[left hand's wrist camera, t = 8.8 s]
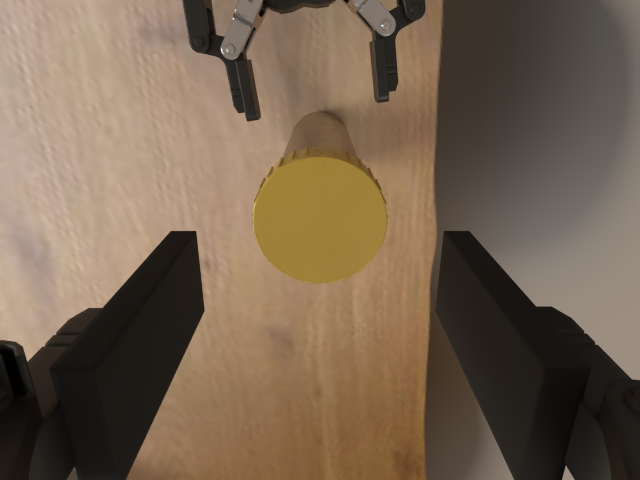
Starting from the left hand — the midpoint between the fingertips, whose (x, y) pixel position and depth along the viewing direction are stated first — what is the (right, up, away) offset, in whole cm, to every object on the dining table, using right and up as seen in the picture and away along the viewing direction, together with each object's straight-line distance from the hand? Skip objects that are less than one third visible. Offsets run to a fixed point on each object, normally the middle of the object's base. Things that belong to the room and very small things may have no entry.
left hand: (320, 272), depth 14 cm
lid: (0, +2, +5) cm, 5 cm away
